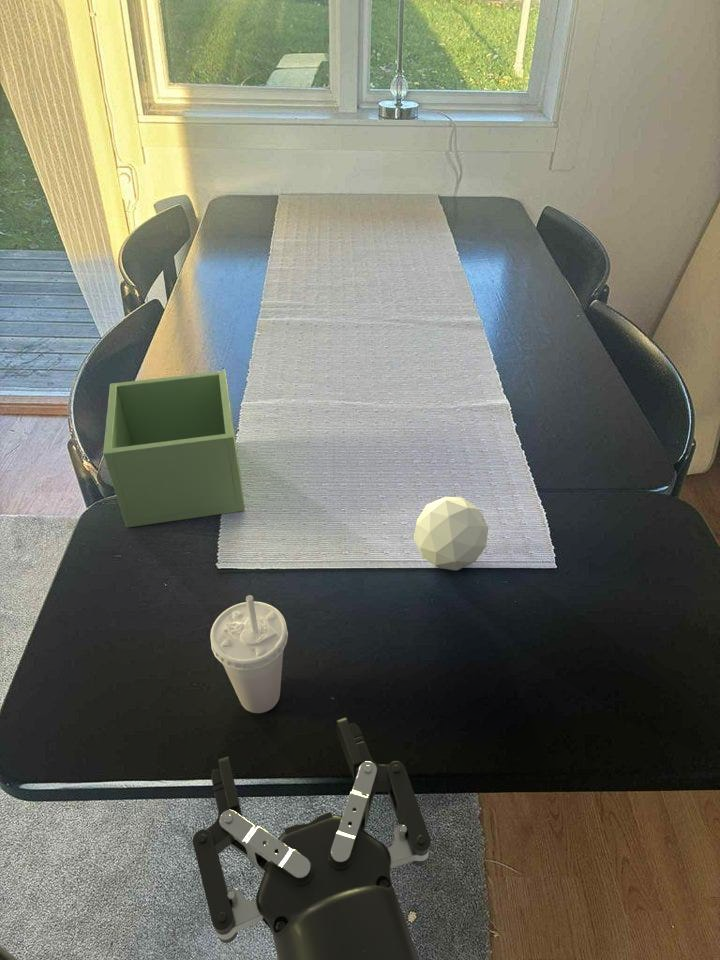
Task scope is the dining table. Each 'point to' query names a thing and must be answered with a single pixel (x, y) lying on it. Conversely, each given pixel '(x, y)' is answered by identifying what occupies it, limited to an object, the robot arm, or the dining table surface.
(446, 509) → the geometric ball
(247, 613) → the smoothie
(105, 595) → the dining table surface
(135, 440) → the trash bin
